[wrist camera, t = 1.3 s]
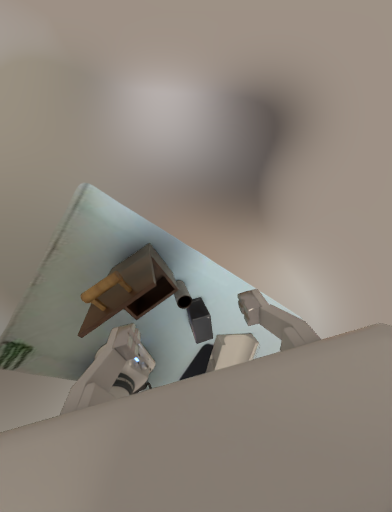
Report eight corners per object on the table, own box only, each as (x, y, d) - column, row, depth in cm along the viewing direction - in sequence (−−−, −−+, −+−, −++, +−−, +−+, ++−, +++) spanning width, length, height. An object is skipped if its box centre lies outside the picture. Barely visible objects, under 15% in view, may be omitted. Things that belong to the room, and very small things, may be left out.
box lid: (156, 285, 24) (135, 262, 22) (81, 338, 23) (51, 320, 21) (150, 255, 36) (136, 238, 33) (101, 289, 35) (82, 274, 32)
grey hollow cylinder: (185, 279, 55) (192, 294, 45) (184, 291, 56) (191, 308, 46) (172, 280, 53) (177, 296, 44) (171, 291, 54) (176, 309, 45)
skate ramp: (236, 373, 79) (248, 395, 70) (195, 379, 71) (202, 405, 62) (251, 333, 73) (266, 351, 64) (207, 335, 65) (217, 356, 56)
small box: (184, 301, 57) (191, 320, 47) (200, 296, 59) (211, 313, 49) (188, 323, 61) (196, 345, 51) (204, 318, 62) (214, 338, 53)
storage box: (172, 272, 52) (179, 289, 41) (139, 295, 51) (136, 320, 40) (149, 242, 47) (149, 253, 36) (112, 268, 46) (100, 287, 35)
